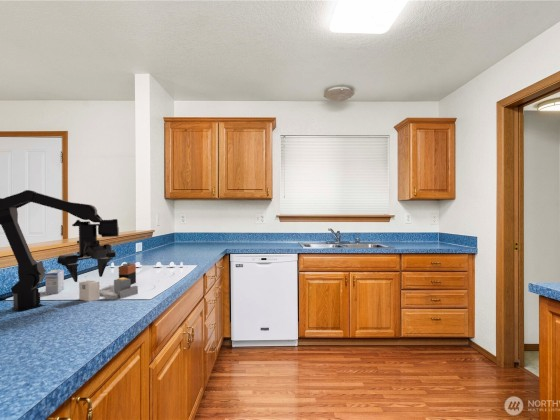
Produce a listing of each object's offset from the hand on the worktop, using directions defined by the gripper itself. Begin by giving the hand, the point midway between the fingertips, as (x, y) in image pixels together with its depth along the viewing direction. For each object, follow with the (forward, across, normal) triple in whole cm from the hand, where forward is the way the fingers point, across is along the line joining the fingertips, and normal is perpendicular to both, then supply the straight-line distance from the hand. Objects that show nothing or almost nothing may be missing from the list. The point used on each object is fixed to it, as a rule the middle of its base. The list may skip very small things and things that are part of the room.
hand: (88, 279), depth 117 cm
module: (+8, 0, 0) cm, 8 cm away
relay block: (+7, +9, -7) cm, 13 cm away
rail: (+8, +9, -2) cm, 12 cm away
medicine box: (+8, +1, +26) cm, 27 cm away
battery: (+8, +21, +7) cm, 24 cm away
